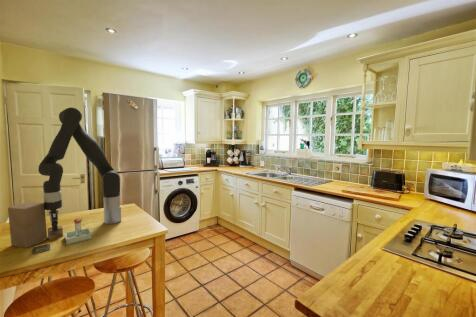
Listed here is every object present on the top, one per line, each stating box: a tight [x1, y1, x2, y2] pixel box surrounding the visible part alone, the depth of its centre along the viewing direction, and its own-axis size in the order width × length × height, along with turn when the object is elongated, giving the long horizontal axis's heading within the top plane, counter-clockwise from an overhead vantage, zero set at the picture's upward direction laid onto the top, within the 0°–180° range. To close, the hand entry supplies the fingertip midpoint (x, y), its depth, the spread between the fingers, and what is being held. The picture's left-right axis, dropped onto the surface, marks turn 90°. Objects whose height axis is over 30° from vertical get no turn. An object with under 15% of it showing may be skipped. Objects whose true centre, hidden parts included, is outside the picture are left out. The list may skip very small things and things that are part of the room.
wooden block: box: [7, 201, 48, 249], centre depth 115 cm, size 10×10×20 cm
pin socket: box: [32, 243, 51, 255], centre depth 110 cm, size 6×6×1 cm
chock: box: [47, 225, 64, 241], centre depth 123 cm, size 6×4×5 cm
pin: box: [73, 218, 83, 237], centre depth 122 cm, size 3×3×10 cm
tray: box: [64, 227, 93, 246], centre depth 122 cm, size 11×10×3 cm
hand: (54, 228), depth 122 cm, fingers open, 8 cm apart
